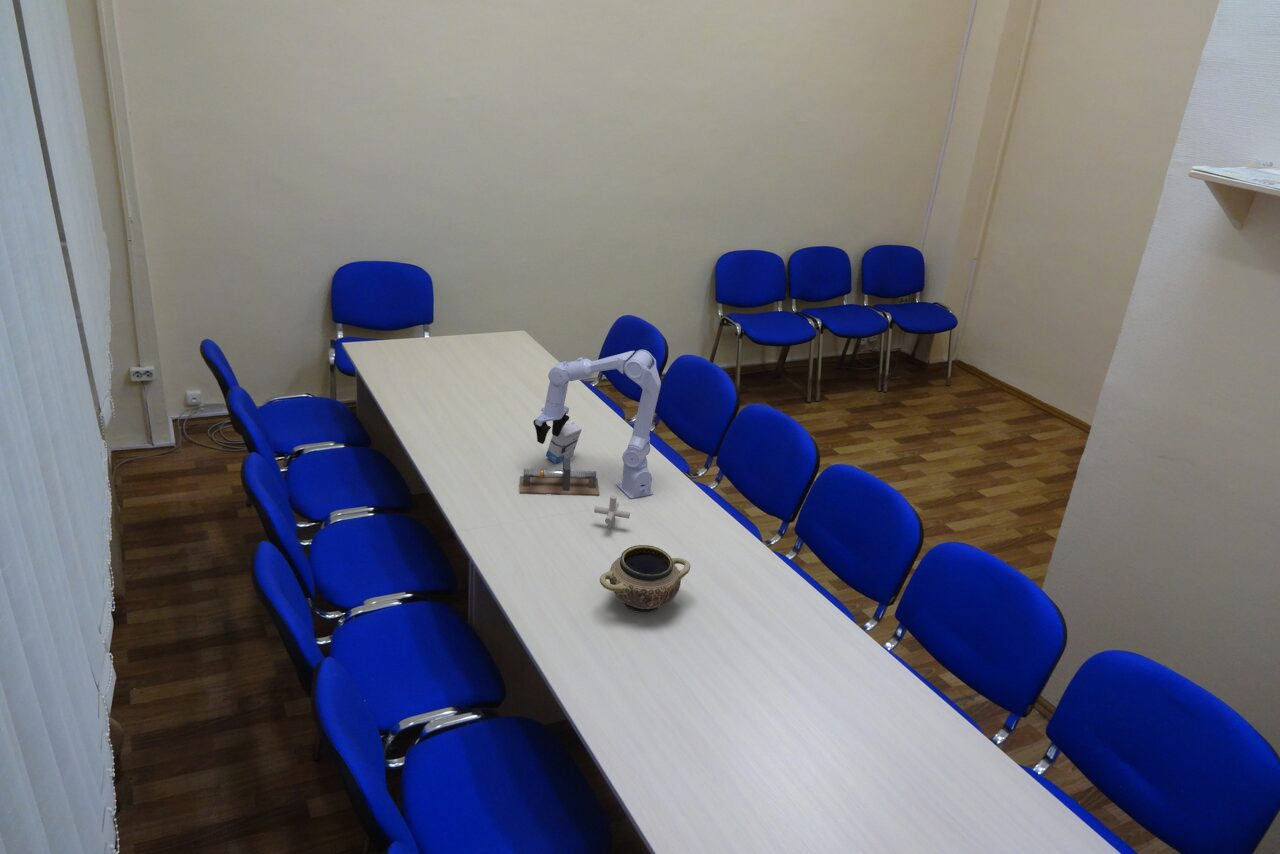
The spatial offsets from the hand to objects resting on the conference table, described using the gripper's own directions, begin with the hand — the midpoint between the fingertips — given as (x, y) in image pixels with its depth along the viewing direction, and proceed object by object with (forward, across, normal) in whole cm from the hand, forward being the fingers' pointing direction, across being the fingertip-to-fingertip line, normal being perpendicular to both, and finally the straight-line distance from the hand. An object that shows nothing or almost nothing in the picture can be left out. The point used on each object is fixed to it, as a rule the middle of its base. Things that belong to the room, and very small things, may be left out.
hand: (547, 438), depth 288 cm
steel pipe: (+10, +6, +11) cm, 16 cm away
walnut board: (+10, +6, +11) cm, 16 cm away
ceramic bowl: (+4, +41, +62) cm, 75 cm away
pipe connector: (+7, +16, +36) cm, 40 cm away
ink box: (+10, -10, -1) cm, 14 cm away
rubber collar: (+9, +5, +13) cm, 17 cm away
